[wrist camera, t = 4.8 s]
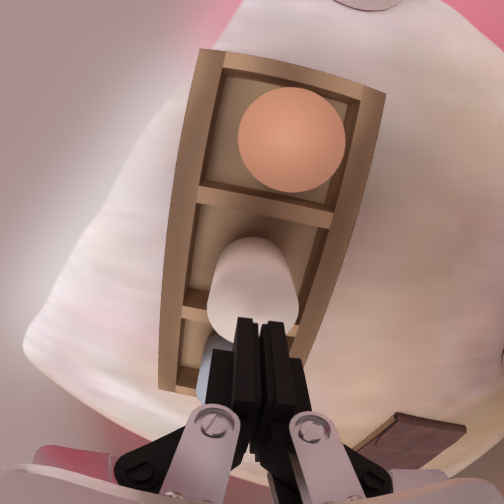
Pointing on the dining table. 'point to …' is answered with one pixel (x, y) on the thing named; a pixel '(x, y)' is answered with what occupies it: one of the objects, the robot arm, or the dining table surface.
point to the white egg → (251, 287)
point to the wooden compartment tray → (254, 204)
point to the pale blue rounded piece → (216, 343)
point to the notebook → (408, 441)
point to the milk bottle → (370, 4)
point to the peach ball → (291, 139)
